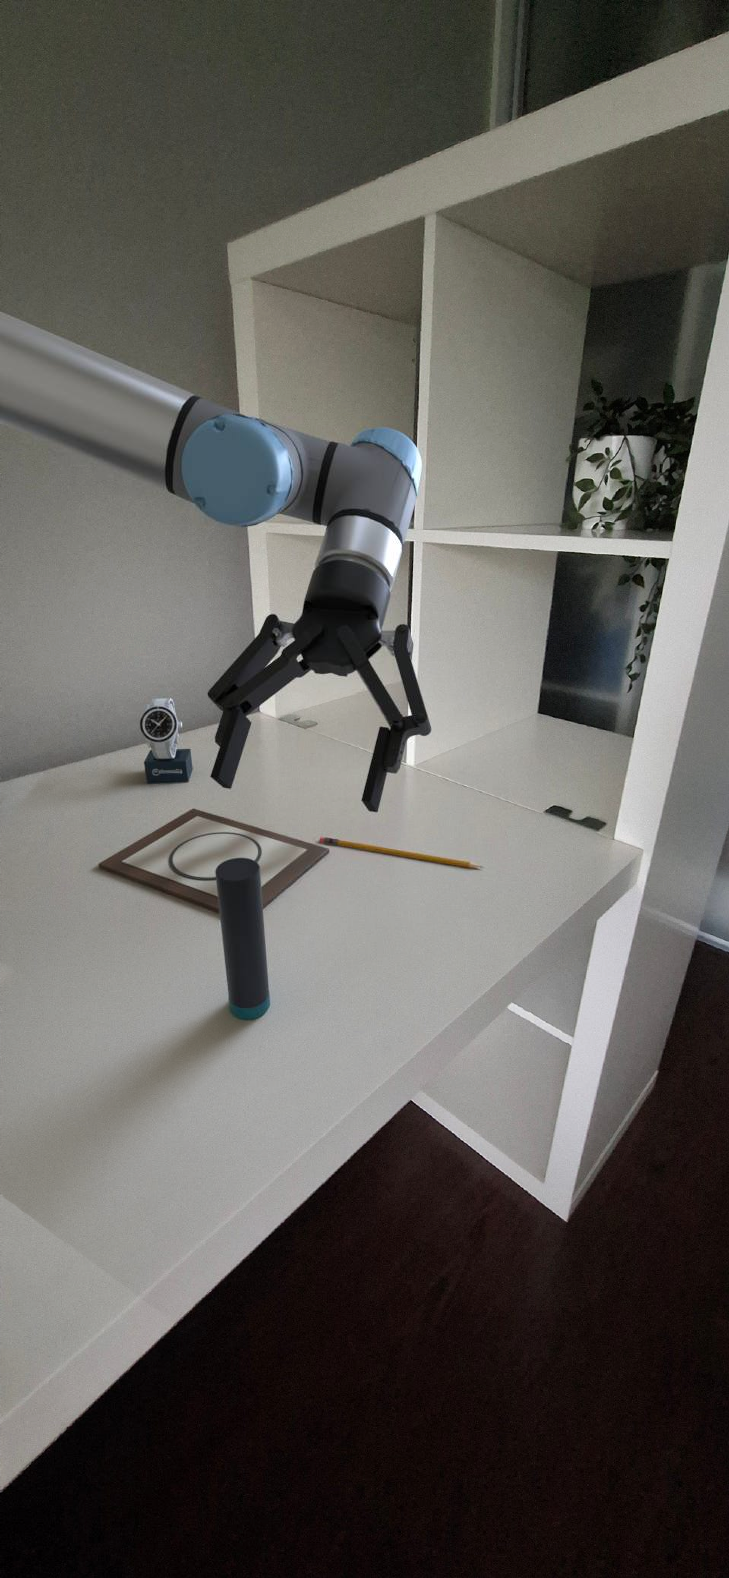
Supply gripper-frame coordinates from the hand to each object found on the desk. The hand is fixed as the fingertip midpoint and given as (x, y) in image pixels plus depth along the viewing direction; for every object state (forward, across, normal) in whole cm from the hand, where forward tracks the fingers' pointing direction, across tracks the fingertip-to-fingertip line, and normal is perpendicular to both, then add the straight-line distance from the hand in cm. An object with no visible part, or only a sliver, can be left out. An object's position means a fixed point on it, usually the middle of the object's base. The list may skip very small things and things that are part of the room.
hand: (292, 794), depth 57 cm
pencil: (-1, -5, -23) cm, 23 cm away
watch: (-8, +31, -29) cm, 43 cm away
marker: (+17, 0, -4) cm, 17 cm away
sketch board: (+4, +14, -17) cm, 22 cm away
